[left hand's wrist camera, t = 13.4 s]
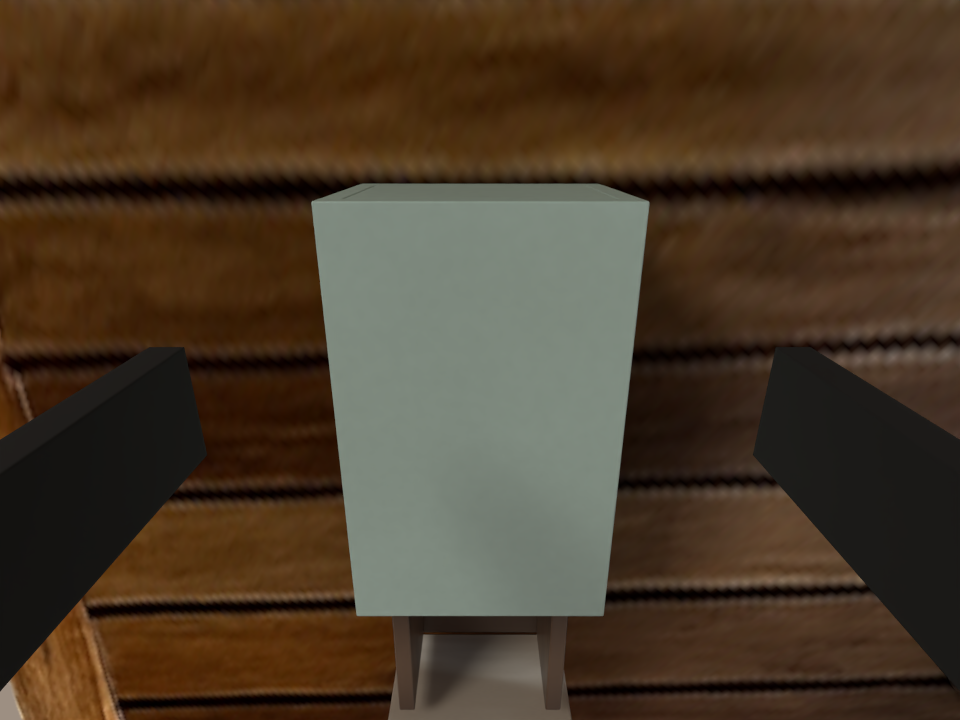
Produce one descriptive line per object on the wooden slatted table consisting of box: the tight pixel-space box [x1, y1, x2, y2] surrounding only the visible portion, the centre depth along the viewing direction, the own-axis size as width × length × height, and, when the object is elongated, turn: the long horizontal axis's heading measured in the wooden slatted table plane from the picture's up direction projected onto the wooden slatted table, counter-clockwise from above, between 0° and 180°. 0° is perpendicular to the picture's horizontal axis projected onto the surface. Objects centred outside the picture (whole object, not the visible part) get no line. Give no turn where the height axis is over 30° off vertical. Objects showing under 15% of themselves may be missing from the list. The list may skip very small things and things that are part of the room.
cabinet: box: [312, 184, 649, 616], centre depth 25 cm, size 18×11×8 cm, turn 0°
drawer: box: [388, 616, 572, 720], centre depth 30 cm, size 22×10×6 cm, turn 0°
